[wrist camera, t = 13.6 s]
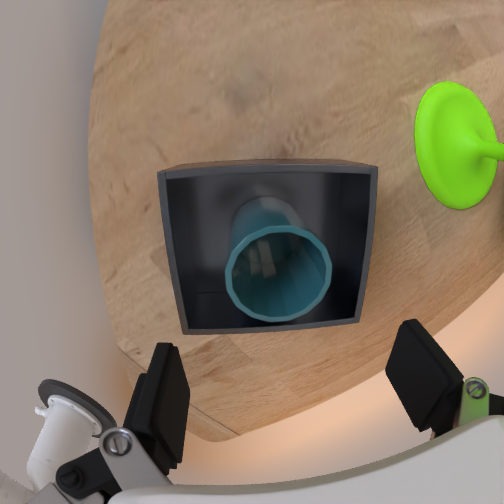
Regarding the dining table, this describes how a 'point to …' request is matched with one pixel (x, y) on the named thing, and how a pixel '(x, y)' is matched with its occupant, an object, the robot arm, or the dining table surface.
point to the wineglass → (456, 145)
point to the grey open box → (219, 222)
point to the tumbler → (275, 262)
